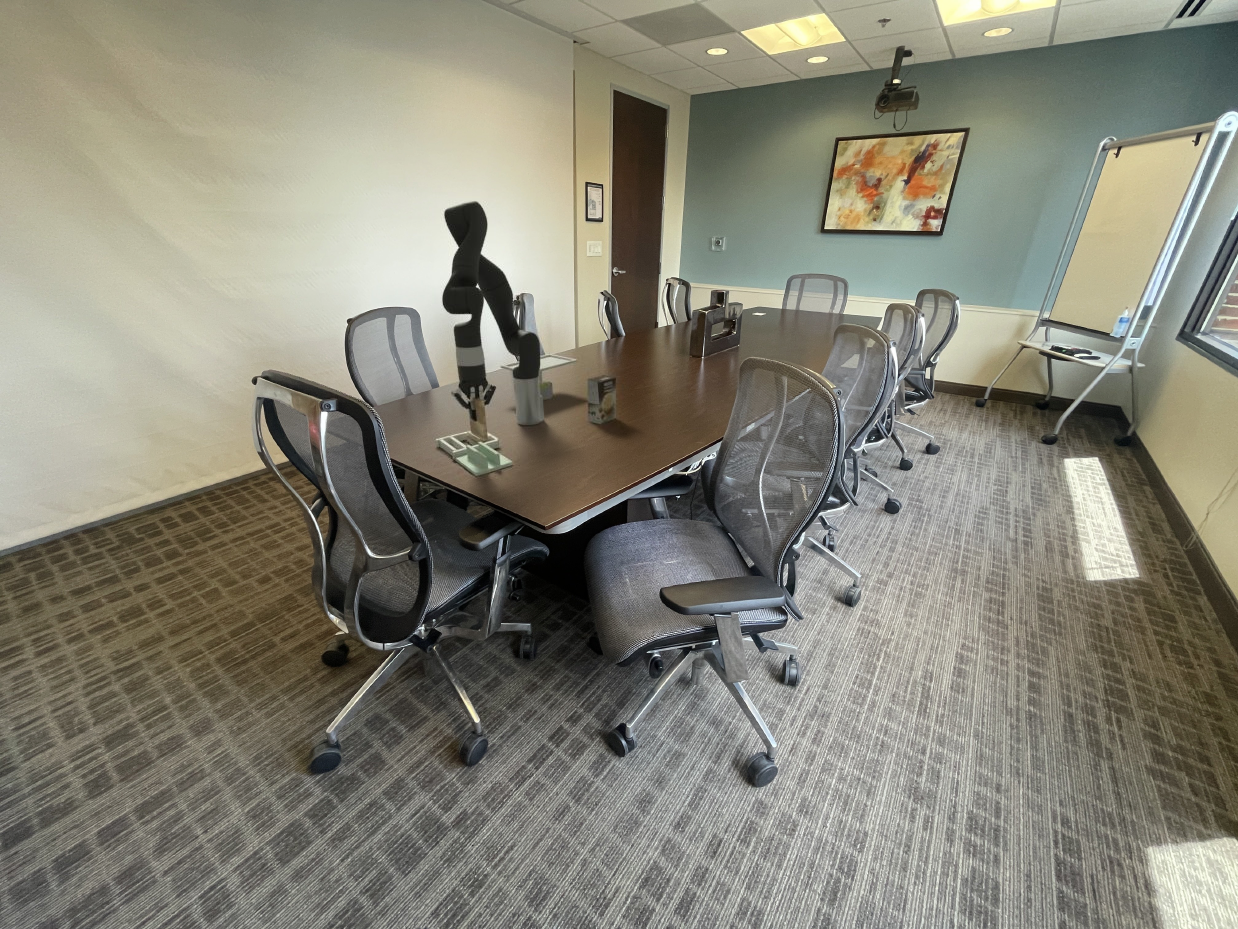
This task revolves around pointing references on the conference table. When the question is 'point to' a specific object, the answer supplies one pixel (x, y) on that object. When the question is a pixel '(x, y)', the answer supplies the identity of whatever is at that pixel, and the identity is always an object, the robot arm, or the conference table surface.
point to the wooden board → (479, 420)
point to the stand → (483, 460)
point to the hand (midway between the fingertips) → (477, 420)
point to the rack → (461, 444)
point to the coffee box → (601, 399)
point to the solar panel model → (545, 364)
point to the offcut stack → (476, 439)
